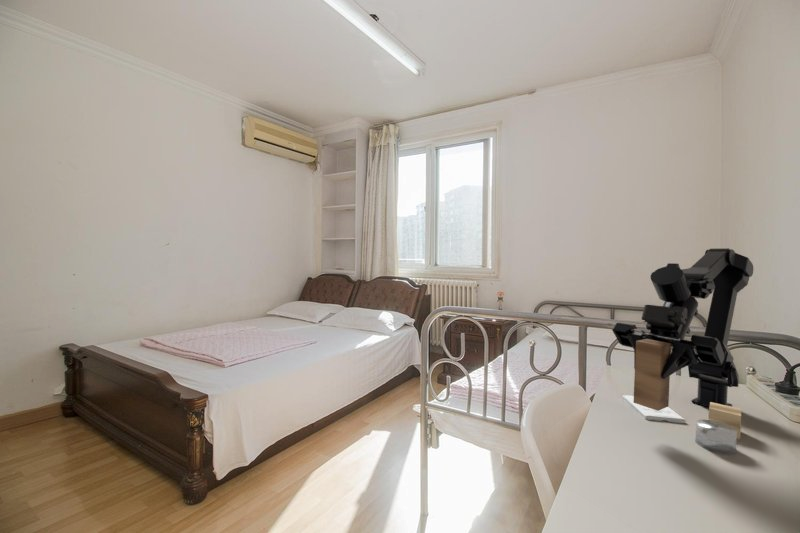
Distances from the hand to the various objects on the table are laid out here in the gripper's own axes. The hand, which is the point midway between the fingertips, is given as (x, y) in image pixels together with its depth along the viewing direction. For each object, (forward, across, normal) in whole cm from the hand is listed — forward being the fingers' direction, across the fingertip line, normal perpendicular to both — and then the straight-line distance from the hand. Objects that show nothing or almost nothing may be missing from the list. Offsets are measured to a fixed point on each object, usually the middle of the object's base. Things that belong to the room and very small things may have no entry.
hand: (648, 373), depth 72 cm
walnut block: (+4, 0, +6) cm, 7 cm away
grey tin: (+3, +8, +15) cm, 18 cm away
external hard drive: (-2, -6, +22) cm, 22 cm away
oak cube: (-4, +7, +22) cm, 24 cm away
